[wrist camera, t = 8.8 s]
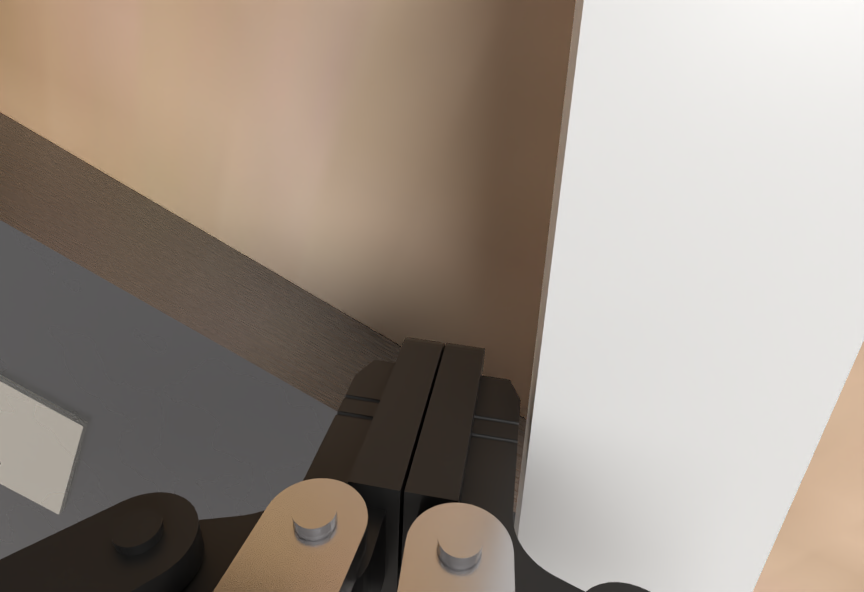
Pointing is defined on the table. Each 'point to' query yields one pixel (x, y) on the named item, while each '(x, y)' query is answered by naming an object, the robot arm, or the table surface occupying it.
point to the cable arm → (693, 286)
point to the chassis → (150, 355)
